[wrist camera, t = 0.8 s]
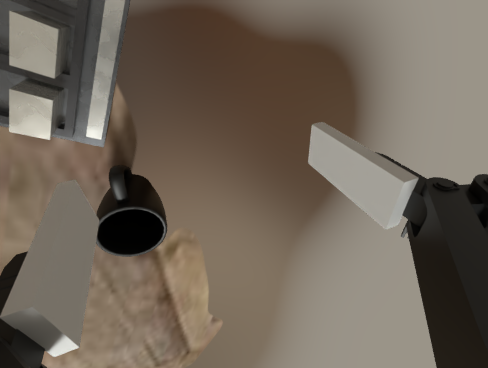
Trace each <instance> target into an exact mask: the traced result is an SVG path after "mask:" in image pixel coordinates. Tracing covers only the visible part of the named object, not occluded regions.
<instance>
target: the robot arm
mask: <svg viewBox="0 0 488 368" xmlns="http://www.w3.org/2000/svg"><path fill="white" fill-rule="evenodd" d="M308 163H309V164H310V165H311V166H312V167H313V168H315V169H316V170H317V171H318V172H319V173H320V174H322V175H323V176H324V177H325V178H326V179H327V180H329V181H330V182H331V183H332V184H333V185H334V186H335V187H337V188H338V189H339V190H340V191H341V192H342V193H344V194H345V195H346V196H347V197H348V198H349V199H351V200H352V201H353V202H354V203H355V204H356V205H357V206H359V207H360V208H361V209H362V210H363V211H365V212H366V213H367V214H368V215H369V216H370V217H372V218H373V219H374V220H375V221H376V222H377V223H378V224H380V225H381V226H382V227H383V228H384V229H389V228H391V227H394V226H397V225H398V224H399V222H400V220H401V218H402V215H403V216H404V217H406V218H407V219H408V221H407V223H406V225H405V227H404V229H403V232H402V235H401V237H404V236H405V234H406V233H407V232H408V238H409V241H410V246H411V250H412V254H413V260H414V264H415V269H416V274H417V278H418V283H419V287H420V292H421V297H422V301H423V306H424V310H425V315H426V320H427V325H428V329H429V334H430V338H431V343H432V348H433V352H434V357H435V362H436V366H437V368H488V175H487V174H482V175H477V176H476V177H475V178H474V179H473V181H472V183H471V184H469V185H458V184H457V183H455V182H453V181H451V180H448V179H444V178H436V177H433V178H429V179H426V178H425V177H422V176H421V175H419V174H418V173H416V172H414V171H412V170H410V169H409V168H407V167H405V166H403V165H401V164H400V163H398V162H396V161H394V160H393V159H391V158H389V157H388V156H385V155H383V154H380V153H376V152H373V151H371V150H370V149H368V148H367V147H365V146H363V145H361V144H360V143H358V142H356V141H355V140H353V139H351V138H349V137H348V136H346V135H344V134H342V133H341V132H339V131H337V130H336V129H334V128H332V127H331V126H329V125H327V124H325V123H324V122H320V123H316V124H312V129H311V139H310V150H309V159H308ZM98 226H99V219H98V217H97V215H96V214H95V212H94V210H93V209H92V207H91V205H90V203H89V202H88V200H87V198H86V197H85V195H84V193H83V192H82V190H81V188H80V186H79V185H78V183H77V181H76V180H71V181H66V182H62V183H58V184H57V186H56V188H55V191H54V193H53V195H52V197H51V200H50V202H49V204H48V207H47V209H46V211H45V214H44V216H43V218H42V221H41V223H40V225H39V227H38V230H37V232H36V234H35V237H34V239H33V241H32V244H31V246H30V248H29V251H28V252H24V253H21V254H17V255H16V256H15V257H14V258H13V259H12V260H11V261H10V262H9V263H8V264H7V265H6V266H5V267H4V269H3V271H2V273H1V275H0V368H47V367H46V366H44V365H43V364H41V362H42V359H43V355H44V351H46V352H48V353H49V354H51V355H52V356H53V357H56V356H58V355H61V354H64V353H66V352H69V351H71V350H74V349H77V348H79V347H80V340H81V334H82V328H83V321H84V315H85V309H86V302H87V296H88V289H89V283H90V277H91V270H92V264H93V258H94V251H95V245H96V239H97V232H98Z"/></svg>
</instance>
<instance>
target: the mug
mask: <svg viewBox="0 0 488 368" xmlns="http://www.w3.org/2000/svg"><path fill="white" fill-rule="evenodd" d="M109 182H110V186H111V188H110V189H109V190H108V191H107V193H106V194H105V196H104V198H103V200H102V202H101V204H100V206H99V208H98V211H97V217H98V219H99V226H98V232H97V239H96V243H97V245H98V246H99V247H100V248H101V249H102V250H104V251H105V252H107V253H109V254H113V255H116V256H123V257H131V256H138V255H141V254H145V253H147V252H149V251H151V250H153V249H155V248H156V247H157V246H158V245H159V244H160V243H161V242H162V241H163V240H164V238H165V235H166V233H167V222H166V215H165V210H164V207H163V204H162V201H161V199H160V197H159V195H158V193H157V192H156V190H155V189H154V188H153V187H152V185H151V183H150V182H149V181H148V180H147V179H146V178H144V177H143V176H140V175H135V174H132V172H131V170H130V168H129V167H127V166H122V165H118V166H114V167H112V168H111V169H110V172H109Z"/></svg>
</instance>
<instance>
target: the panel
mask: <svg viewBox="0 0 488 368" xmlns="http://www.w3.org/2000/svg"><path fill="white" fill-rule="evenodd" d="M129 5H130V0H0V126H4V127H9V132H13V133H18V134H23V135H28V136H33V137H38V138H43V139H48V140H50V139H51V137H57V138H62V139H67V140H71V141H76V142H81V143H86V144H91V145H96V146H100V147H104V144H105V139H106V133H107V128H108V122H109V117H110V111H111V105H112V100H113V94H114V89H115V83H116V77H117V72H118V66H119V60H120V54H121V49H122V44H123V38H124V33H125V27H126V21H127V16H128V10H129Z"/></svg>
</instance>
